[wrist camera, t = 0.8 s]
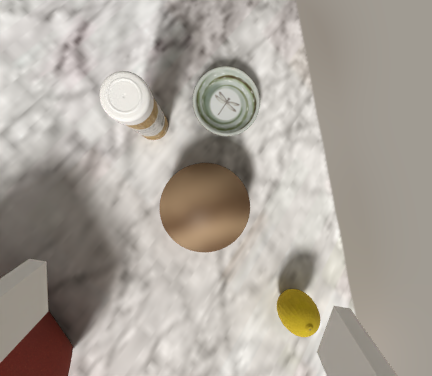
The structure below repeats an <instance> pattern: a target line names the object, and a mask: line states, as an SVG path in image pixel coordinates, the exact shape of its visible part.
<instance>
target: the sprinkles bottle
mask: <svg viewBox="0 0 432 376" xmlns="http://www.w3.org/2000/svg"><path fill="white" fill-rule="evenodd" d="M100 101H101V105H102V107H103V109H104V110H105V112H106V113H107V114H108V115H109V116H110V117H112V118H113V119H115V120H116V121H118V122H120V123H122V124H125V125H127V126H128V127H130V128H131V129H133V130H134V131H136V132H138V133H139V134H141V135H142V136H144V137H145V138H147V139H151V140H156V139H160V138H161V137H163V136H164V135H165V133H166V132H167V129H168V121H167V118H166V116H165V115H164V113H163V112H162V110H161V108H160V107H159V105H158V103H157V102H156V100H155V99H154V97H153V95H152V92H151V90H150V89H149V87H148V86H147V84H146V83H145V82H144V80H143V79H142V78H140V77H139V76H138V75H136V74H134V73H131V72H127V71H120V72H116V73H113V74H111V75H110V76H108V77H107V78H106V79H105V81H104V82H103V84H102V86H101V89H100Z"/></svg>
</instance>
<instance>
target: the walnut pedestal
mask: <svg viewBox="0 0 432 376" xmlns="http://www.w3.org/2000/svg"><path fill="white" fill-rule="evenodd" d="M249 213H250V201H249V196H248V193H247V190H246V188H245V186H244V184H243V183H242V181H241V180H240V179H239V178H238V177H237V176H236V175H235V174H234V173H233V172H232V171H230V170H229V169H227V168H225V167H223V166H220V165H217V164H212V163H198V164H193V165H190V166H188V167H185V168H183V169H182V170H180V171H179V172H177V173H176V174H175V175H174V176H173V177H172V178H171V179H170V180H169V181H168V183H167V184H166V186H165V188H164V190H163V193H162V195H161V200H160V216H161V220H162V224H163V226H164V228H165V230H166V231H167V233H168V234H169V236H170V237H171V238H172V239H173V240H174V241H175V242H176V243H178V244H179V245H181V246H182V247H184V248H186V249H189V250H192V251H196V252H213V251H217V250H220V249H222V248H225V247H227V246H228V245H230V244H231V243H233V242H234V241H235V240H236V239H237V238H238V237H239V236H240V235H241V233H242V232H243V230H244V228H245V227H246V224H247V222H248V218H249Z"/></svg>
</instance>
